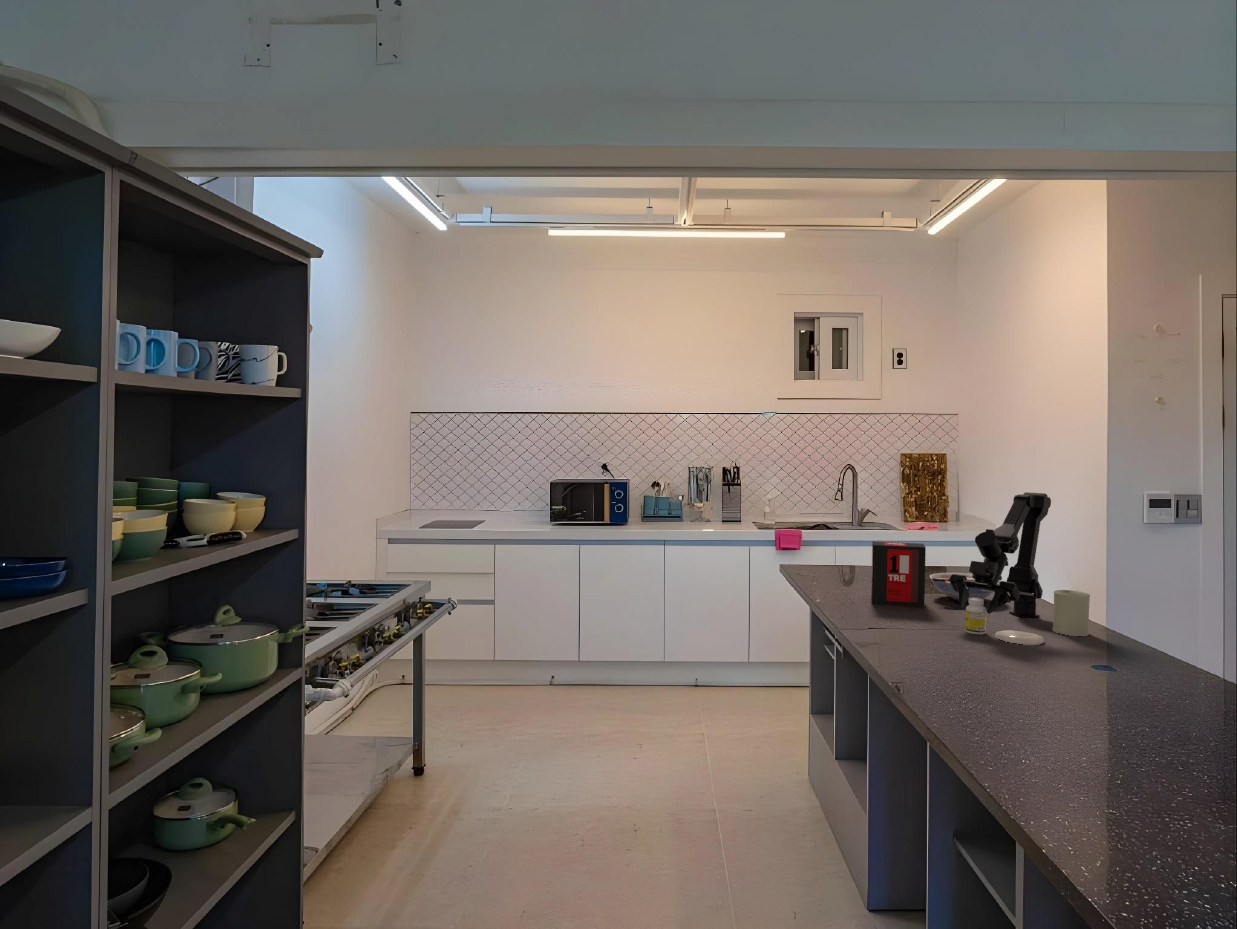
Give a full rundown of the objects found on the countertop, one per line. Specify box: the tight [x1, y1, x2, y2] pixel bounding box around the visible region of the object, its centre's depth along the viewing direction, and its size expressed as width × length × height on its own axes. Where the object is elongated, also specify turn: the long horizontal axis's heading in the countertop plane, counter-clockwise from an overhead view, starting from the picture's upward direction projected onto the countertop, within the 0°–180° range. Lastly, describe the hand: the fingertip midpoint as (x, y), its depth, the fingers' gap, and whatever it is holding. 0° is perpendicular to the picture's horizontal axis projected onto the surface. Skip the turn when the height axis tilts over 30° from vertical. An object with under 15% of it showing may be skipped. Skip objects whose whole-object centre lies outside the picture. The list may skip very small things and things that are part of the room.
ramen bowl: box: [929, 572, 1002, 603], centre depth 270 cm, size 25×23×8 cm
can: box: [1051, 589, 1091, 637], centre depth 226 cm, size 9×9×12 cm
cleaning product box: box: [870, 541, 927, 608], centre depth 263 cm, size 16×9×20 cm, turn 73°
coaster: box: [994, 630, 1045, 646], centre depth 217 cm, size 12×12×1 cm
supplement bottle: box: [965, 598, 987, 635], centre depth 225 cm, size 5×5×10 cm
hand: (973, 610), depth 224 cm, fingers open, 8 cm apart
